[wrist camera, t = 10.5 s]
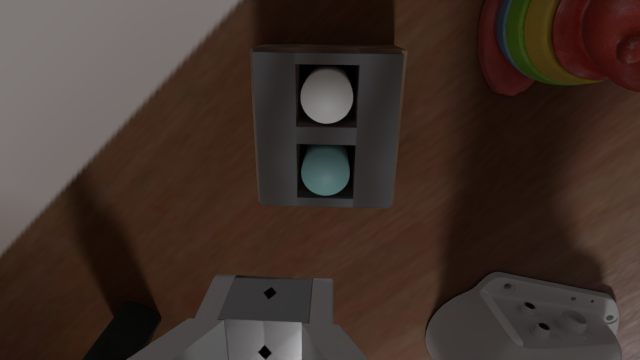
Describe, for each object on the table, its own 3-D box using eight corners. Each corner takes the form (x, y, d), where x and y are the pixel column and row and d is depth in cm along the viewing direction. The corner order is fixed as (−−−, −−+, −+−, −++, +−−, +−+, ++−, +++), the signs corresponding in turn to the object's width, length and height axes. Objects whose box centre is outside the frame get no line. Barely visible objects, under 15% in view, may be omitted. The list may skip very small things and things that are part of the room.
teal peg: (347, 125, 38) (350, 150, 30) (346, 163, 39) (348, 196, 32) (307, 124, 38) (300, 149, 30) (307, 162, 39) (301, 194, 32)
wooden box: (394, 45, 35) (410, 51, 28) (383, 175, 40) (394, 210, 33) (265, 43, 35) (246, 49, 28) (270, 173, 40) (255, 206, 33)
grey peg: (350, 60, 35) (354, 71, 28) (348, 103, 37) (351, 124, 30) (307, 60, 35) (300, 70, 28) (307, 102, 37) (300, 123, 30)
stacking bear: (495, 103, 37) (625, 169, 20) (450, 6, 34) (561, -8, 17) (610, 39, 34) (865, 56, 18) (572, -72, 31) (839, -177, 15)
